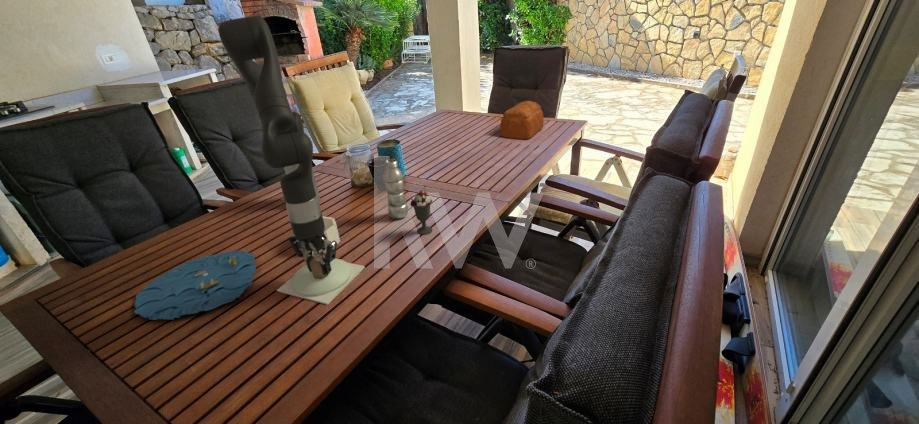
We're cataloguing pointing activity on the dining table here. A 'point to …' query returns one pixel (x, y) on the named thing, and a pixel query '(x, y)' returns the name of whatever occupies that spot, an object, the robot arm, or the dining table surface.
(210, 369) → the dining table surface
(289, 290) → the mat
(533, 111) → the bread
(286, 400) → the dining table surface
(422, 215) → the sundae
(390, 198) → the plastic bottle
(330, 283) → the lid
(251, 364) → the dining table surface
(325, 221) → the bowl
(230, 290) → the decorative plate
